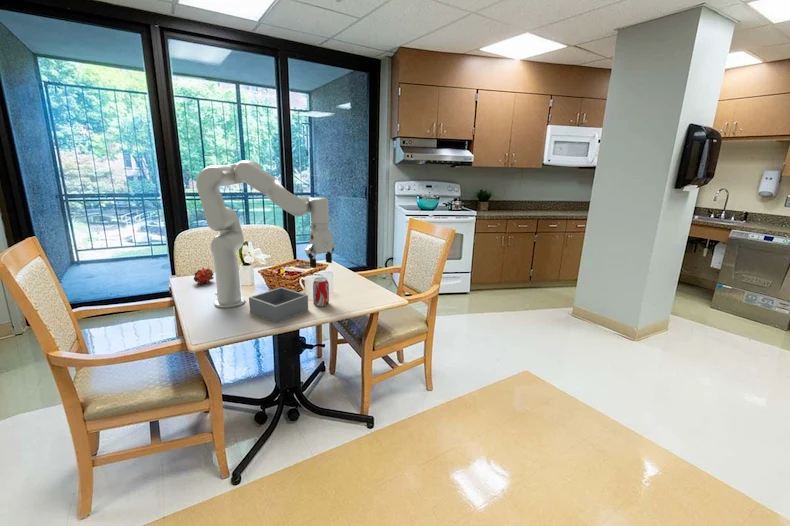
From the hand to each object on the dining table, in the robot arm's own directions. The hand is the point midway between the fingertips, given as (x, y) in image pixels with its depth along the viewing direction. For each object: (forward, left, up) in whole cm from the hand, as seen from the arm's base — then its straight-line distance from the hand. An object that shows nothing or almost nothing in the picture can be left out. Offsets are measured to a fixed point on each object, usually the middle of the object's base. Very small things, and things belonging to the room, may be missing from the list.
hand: (321, 264), depth 162 cm
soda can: (0, 0, -19) cm, 19 cm away
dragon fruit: (-68, -16, -19) cm, 73 cm away
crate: (-8, -17, -19) cm, 27 cm away
